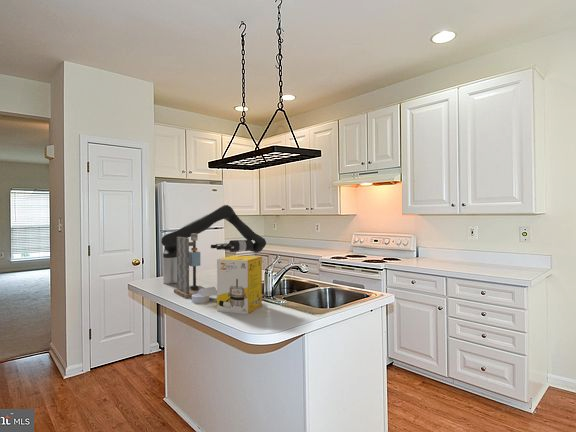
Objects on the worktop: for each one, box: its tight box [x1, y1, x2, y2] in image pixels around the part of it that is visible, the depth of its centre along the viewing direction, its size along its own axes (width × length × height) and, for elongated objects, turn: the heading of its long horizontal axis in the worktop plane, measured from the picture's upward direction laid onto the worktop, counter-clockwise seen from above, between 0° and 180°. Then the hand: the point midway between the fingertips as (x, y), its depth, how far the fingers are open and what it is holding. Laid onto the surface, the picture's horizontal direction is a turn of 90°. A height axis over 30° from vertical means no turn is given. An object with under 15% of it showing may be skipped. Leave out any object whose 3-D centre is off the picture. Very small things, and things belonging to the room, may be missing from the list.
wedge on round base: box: [191, 286, 217, 304], centre depth 191 cm, size 9×7×13 cm
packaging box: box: [216, 254, 263, 315], centre depth 176 cm, size 16×16×25 cm
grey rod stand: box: [173, 233, 205, 299], centre depth 208 cm, size 18×16×35 cm
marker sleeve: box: [189, 250, 201, 267], centre depth 208 cm, size 5×5×8 cm
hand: (213, 247), depth 217 cm, fingers open, 8 cm apart
